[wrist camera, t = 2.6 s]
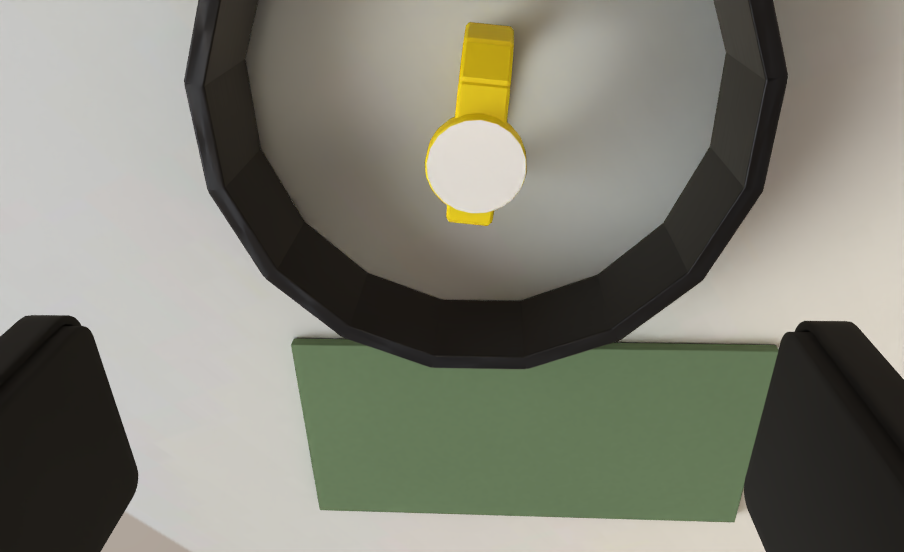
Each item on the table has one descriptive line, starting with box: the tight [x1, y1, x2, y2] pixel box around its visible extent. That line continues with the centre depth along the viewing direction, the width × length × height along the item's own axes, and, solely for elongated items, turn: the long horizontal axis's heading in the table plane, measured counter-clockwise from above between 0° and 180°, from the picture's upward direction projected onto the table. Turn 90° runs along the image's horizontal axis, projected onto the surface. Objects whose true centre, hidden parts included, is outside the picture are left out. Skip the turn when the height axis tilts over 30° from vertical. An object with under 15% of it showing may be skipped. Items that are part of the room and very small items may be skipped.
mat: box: [291, 338, 778, 522], centre depth 30 cm, size 20×10×1 cm, turn 91°
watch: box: [425, 22, 526, 226], centre depth 21 cm, size 6×3×6 cm, turn 175°
